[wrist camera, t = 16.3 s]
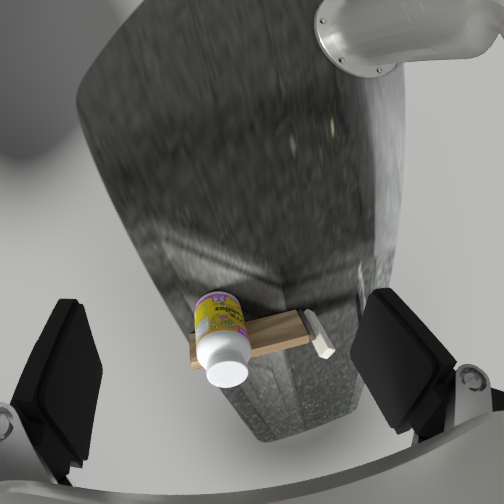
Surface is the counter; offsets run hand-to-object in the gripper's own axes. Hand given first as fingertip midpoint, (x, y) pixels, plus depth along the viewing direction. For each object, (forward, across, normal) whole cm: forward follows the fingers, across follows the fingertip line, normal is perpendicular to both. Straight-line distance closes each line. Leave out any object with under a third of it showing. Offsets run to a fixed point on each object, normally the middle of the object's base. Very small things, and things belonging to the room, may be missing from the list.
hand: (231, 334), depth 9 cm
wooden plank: (+28, -7, +23) cm, 37 cm away
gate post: (+28, -16, +22) cm, 39 cm away
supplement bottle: (+28, -2, +20) cm, 35 cm away
